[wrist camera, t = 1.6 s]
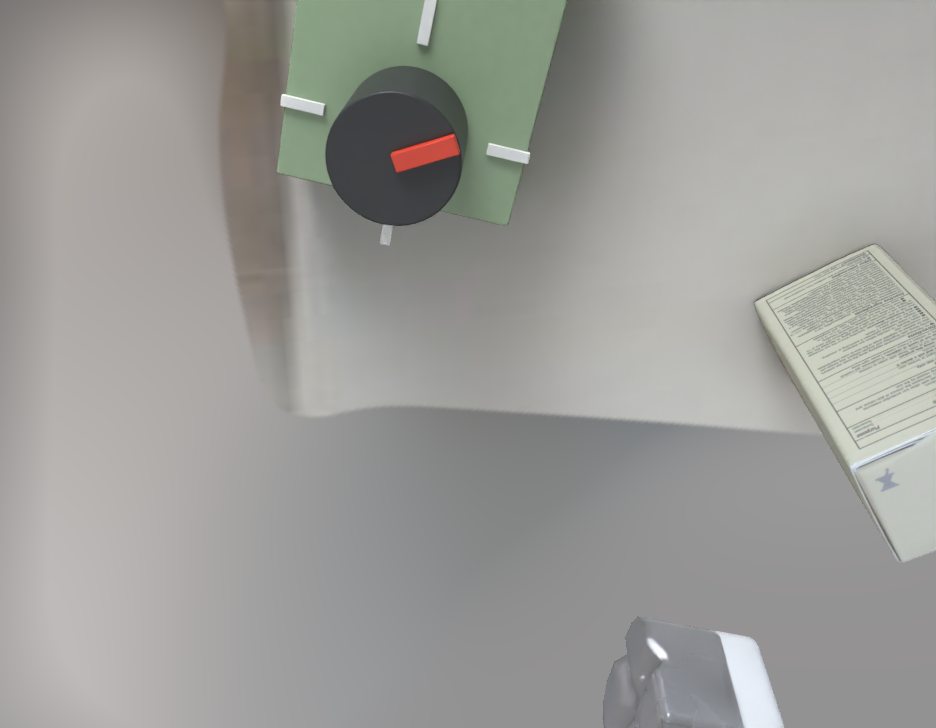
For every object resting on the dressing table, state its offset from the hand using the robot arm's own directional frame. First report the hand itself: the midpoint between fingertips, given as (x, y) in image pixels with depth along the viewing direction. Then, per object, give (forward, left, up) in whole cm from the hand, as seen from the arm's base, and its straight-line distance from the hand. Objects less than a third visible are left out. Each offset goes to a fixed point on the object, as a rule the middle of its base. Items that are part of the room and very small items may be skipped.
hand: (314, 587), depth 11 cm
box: (+4, +16, -24) cm, 29 cm away
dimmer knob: (0, -1, -20) cm, 20 cm away
